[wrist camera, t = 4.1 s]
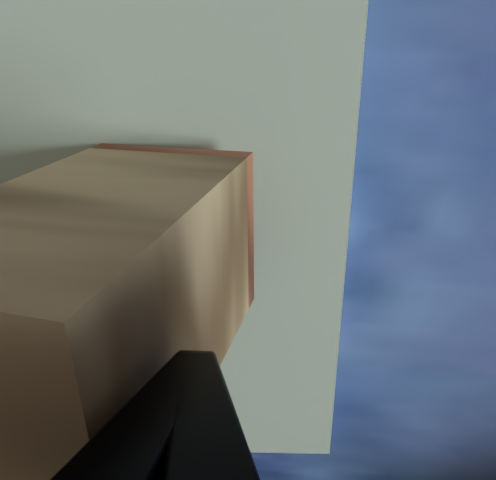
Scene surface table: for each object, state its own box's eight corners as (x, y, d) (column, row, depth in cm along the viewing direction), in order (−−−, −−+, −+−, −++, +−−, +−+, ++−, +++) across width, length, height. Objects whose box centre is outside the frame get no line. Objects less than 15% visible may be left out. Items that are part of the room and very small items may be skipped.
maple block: (253, 298, 14) (116, 569, 7) (121, 280, 15) (-110, 497, 8) (252, 151, 12) (63, 323, 5) (101, 143, 13) (-221, 273, 6)
